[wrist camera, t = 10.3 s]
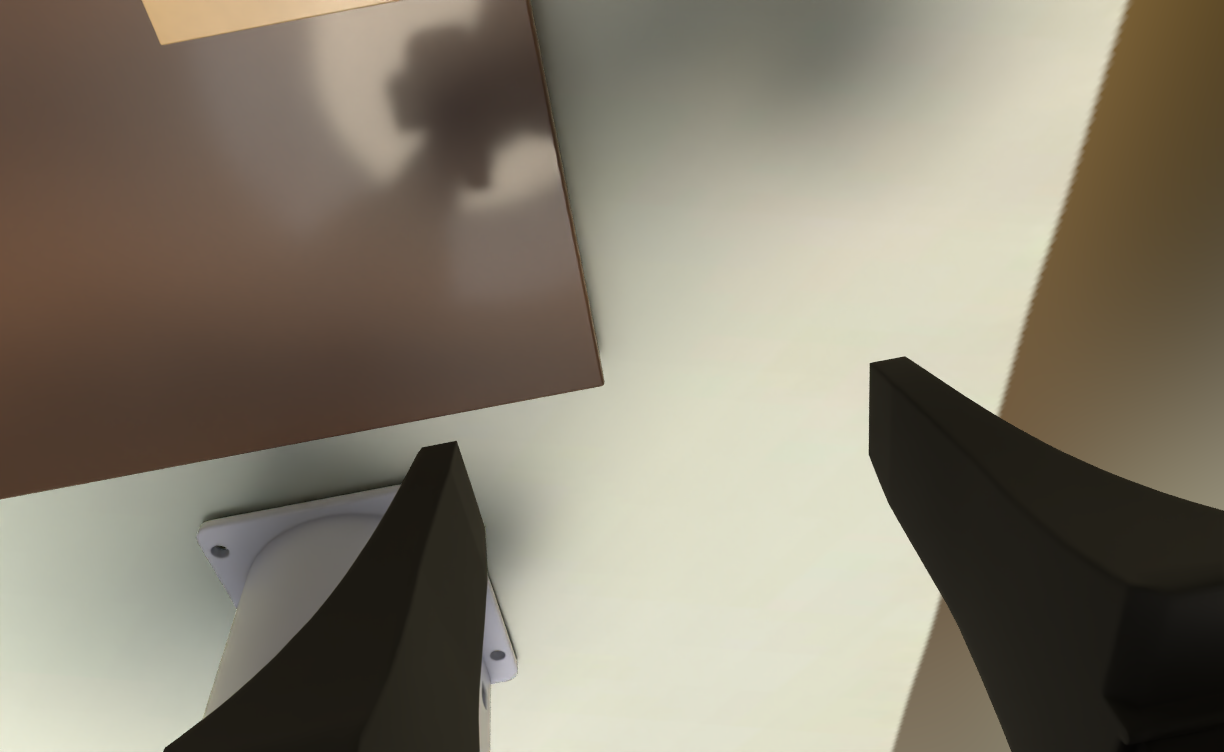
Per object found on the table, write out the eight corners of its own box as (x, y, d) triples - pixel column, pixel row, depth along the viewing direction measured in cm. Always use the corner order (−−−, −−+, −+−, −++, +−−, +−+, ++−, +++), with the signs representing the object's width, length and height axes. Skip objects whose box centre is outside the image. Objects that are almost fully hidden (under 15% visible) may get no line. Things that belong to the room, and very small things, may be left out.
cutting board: (600, 357, 26) (606, 393, 24) (-21, 474, 26) (-53, 517, 24) (431, -507, 15) (424, -538, 14) (-599, -312, 15) (-716, -321, 14)
